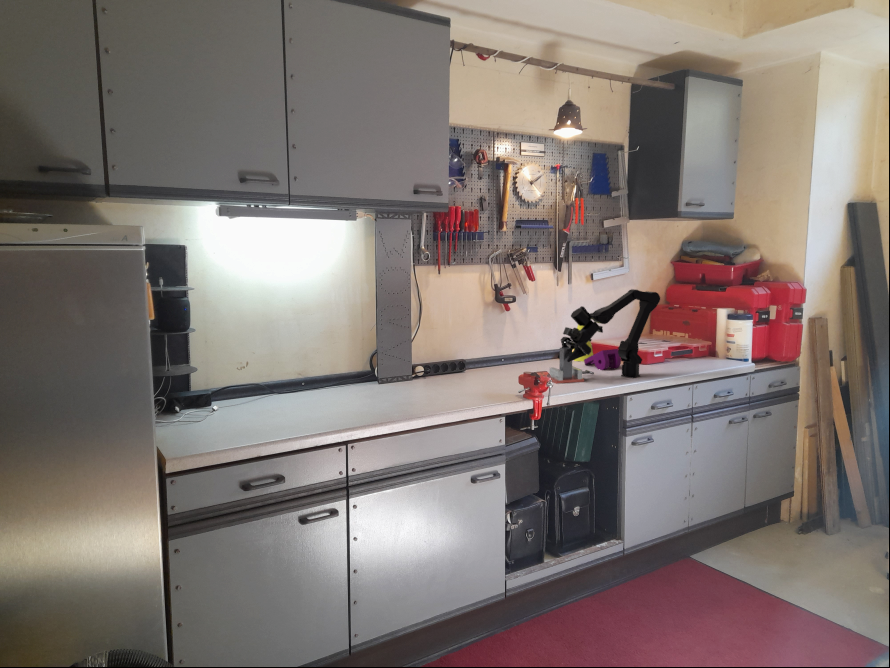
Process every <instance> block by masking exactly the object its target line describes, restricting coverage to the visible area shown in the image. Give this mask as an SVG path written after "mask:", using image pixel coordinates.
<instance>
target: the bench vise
mask: <svg viewBox="0 0 890 668" xmlns="http://www.w3.org/2000/svg"><path fill="white" fill-rule="evenodd" d="M549 373H550V375H551V380H552V381H551V383H553V384H570V383H571V384H572V383H583V382H585V378H583V375H589V374H590V375H594V374H595V372H593V371H591V370H588V369H585V370H583V369H580V368H578V367H575V366H573V365H572V378H571V379H563V371H561V370H559V369H558V368H557V367H554V366H553V367H549Z"/></svg>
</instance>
